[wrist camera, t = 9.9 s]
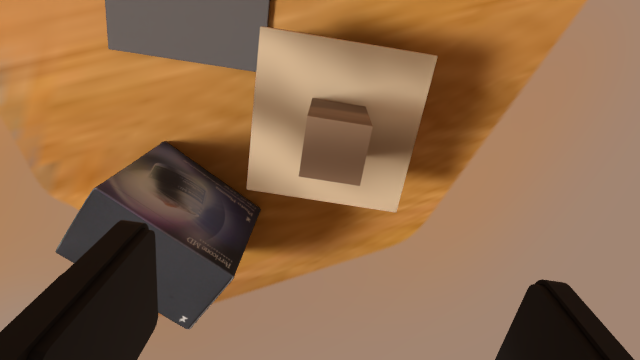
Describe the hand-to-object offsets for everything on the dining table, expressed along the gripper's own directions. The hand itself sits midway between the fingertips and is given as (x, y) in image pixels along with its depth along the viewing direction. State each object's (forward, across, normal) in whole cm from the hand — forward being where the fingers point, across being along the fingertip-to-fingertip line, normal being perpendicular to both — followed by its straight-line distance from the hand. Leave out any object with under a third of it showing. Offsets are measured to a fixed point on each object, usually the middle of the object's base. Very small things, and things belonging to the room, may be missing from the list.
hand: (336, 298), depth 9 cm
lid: (+18, 0, 0) cm, 18 cm away
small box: (+23, +11, +10) cm, 28 cm away
